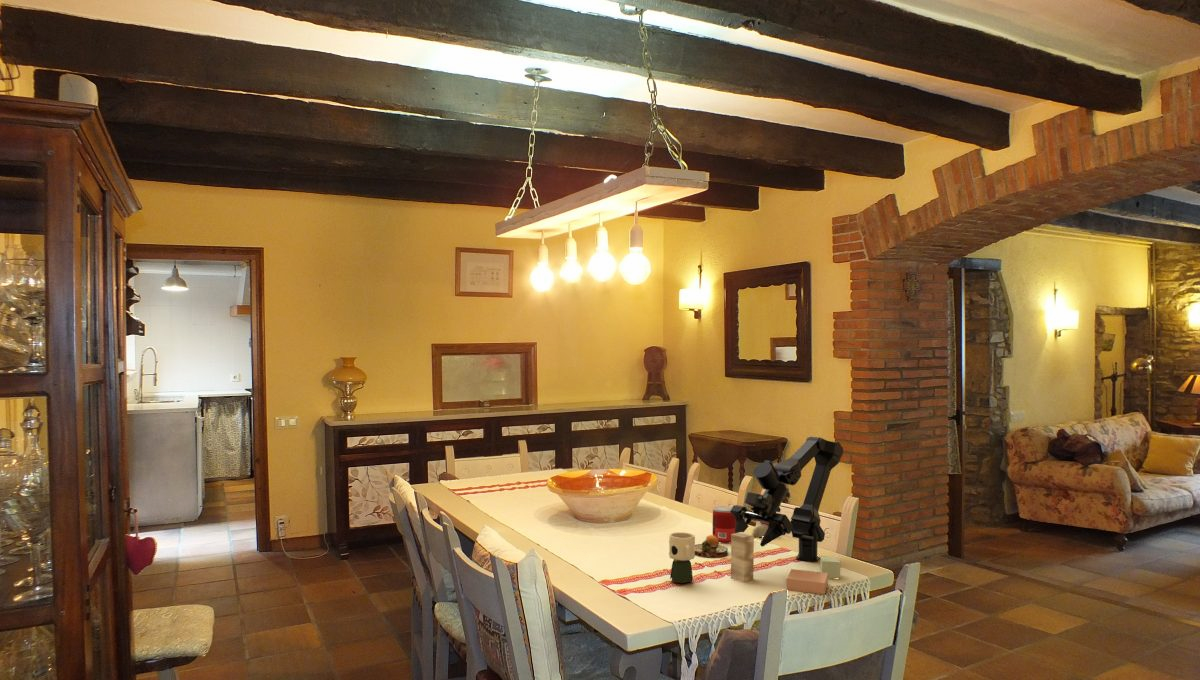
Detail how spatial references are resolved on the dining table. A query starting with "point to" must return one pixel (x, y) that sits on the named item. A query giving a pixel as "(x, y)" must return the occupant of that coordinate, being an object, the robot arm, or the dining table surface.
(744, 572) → the beech post
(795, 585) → the terracotta tile
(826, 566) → the sage block
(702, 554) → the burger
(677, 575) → the character mug
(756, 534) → the grey plush toy
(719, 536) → the canned food
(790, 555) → the dining table surface
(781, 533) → the robot arm
